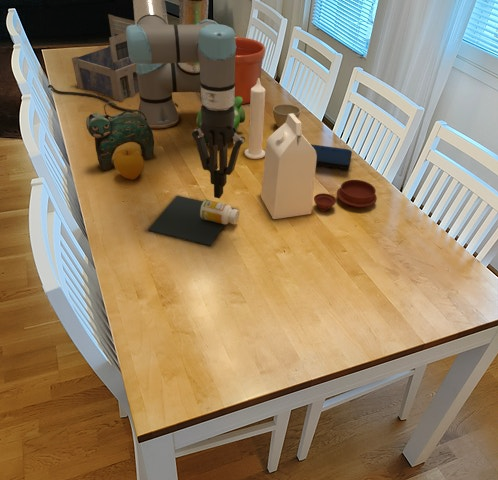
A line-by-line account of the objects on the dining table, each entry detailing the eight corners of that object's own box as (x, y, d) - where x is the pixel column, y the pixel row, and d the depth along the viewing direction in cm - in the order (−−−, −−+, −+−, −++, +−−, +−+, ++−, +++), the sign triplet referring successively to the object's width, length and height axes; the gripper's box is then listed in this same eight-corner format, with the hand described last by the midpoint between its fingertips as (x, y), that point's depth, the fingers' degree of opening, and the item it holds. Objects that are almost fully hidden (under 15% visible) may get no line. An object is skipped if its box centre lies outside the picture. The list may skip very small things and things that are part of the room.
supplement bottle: (204, 220, 128) (236, 228, 126) (197, 217, 123) (231, 225, 120) (209, 201, 127) (241, 209, 125) (202, 197, 122) (236, 205, 120)
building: (120, 101, 183) (110, 38, 167) (78, 87, 192) (64, 26, 176) (158, 84, 198) (152, 24, 182) (117, 72, 207) (108, 14, 191)
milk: (311, 213, 131) (324, 126, 113) (273, 219, 128) (281, 130, 110) (296, 191, 139) (307, 107, 121) (260, 196, 137) (265, 110, 119)
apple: (120, 168, 145) (115, 142, 139) (148, 170, 145) (145, 143, 139) (113, 183, 139) (108, 156, 132) (142, 185, 139) (138, 158, 132)
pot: (274, 98, 191) (278, 49, 178) (225, 111, 180) (225, 60, 167) (239, 80, 205) (240, 33, 192) (191, 91, 194) (189, 42, 181)
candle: (267, 151, 157) (273, 76, 140) (261, 160, 152) (266, 83, 135) (248, 147, 159) (251, 72, 141) (241, 156, 154) (243, 80, 137)
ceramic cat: (98, 173, 142) (85, 110, 129) (92, 164, 146) (78, 102, 133) (157, 159, 151) (151, 98, 137) (150, 151, 154) (142, 90, 141)
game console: (350, 158, 156) (356, 132, 150) (347, 177, 147) (352, 150, 140) (305, 151, 159) (309, 125, 152) (299, 169, 149) (302, 143, 143)
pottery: (382, 208, 134) (386, 195, 131) (323, 221, 128) (326, 208, 125) (361, 188, 142) (364, 175, 139) (304, 199, 136) (306, 186, 133)
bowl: (296, 135, 167) (298, 116, 162) (269, 132, 168) (271, 112, 163) (299, 124, 174) (302, 105, 169) (274, 120, 176) (275, 102, 171)
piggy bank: (249, 134, 166) (251, 92, 156) (224, 154, 155) (224, 110, 144) (216, 125, 171) (215, 83, 161) (189, 143, 159) (187, 100, 149)
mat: (148, 231, 122) (147, 229, 122) (177, 196, 135) (177, 195, 134) (210, 246, 118) (210, 244, 118) (234, 209, 131) (234, 208, 131)
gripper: (184, 106, 101) (189, 197, 117) (239, 116, 98) (237, 208, 114) (197, 94, 106) (201, 183, 122) (250, 103, 103) (247, 193, 120)
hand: (218, 195), depth 118 cm, fingers closed
